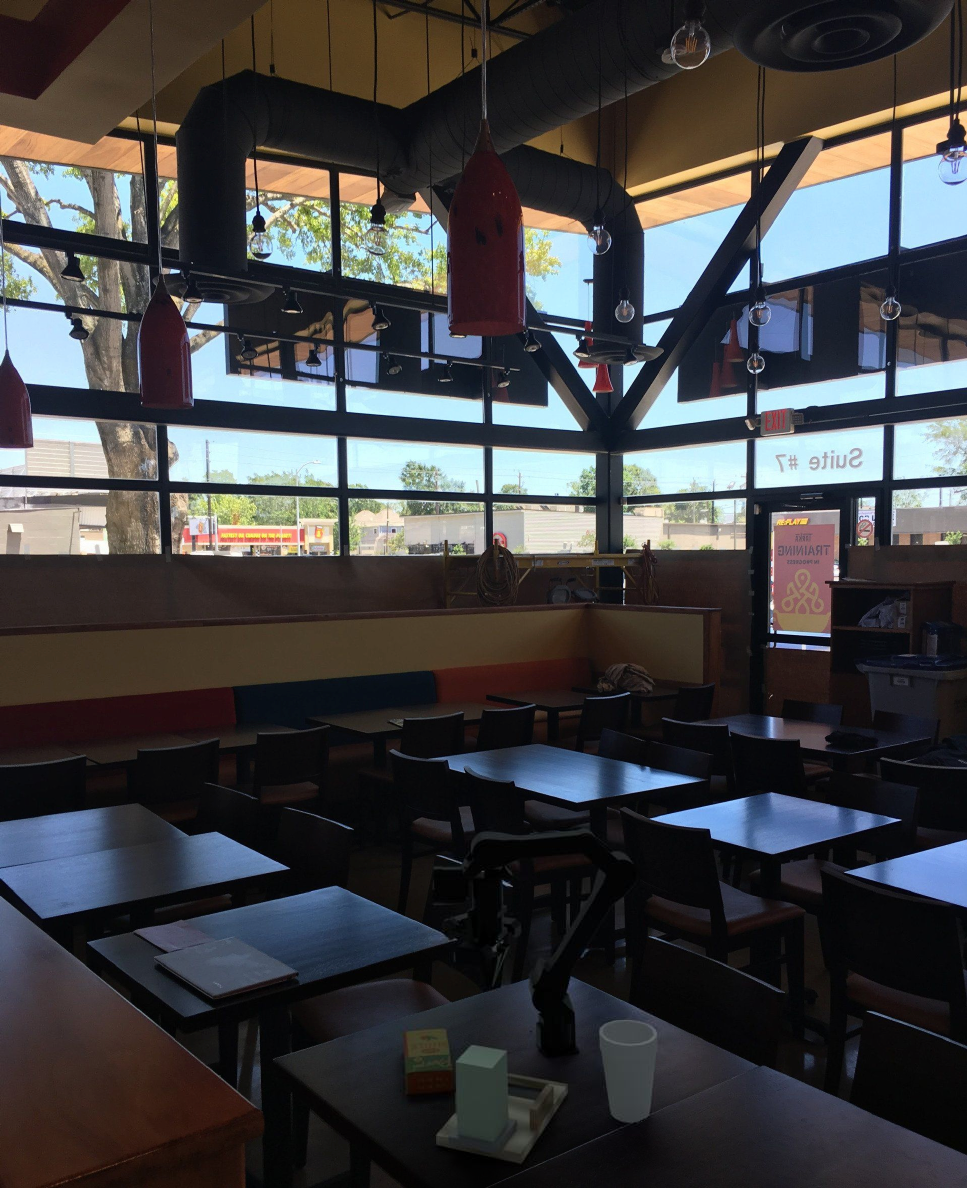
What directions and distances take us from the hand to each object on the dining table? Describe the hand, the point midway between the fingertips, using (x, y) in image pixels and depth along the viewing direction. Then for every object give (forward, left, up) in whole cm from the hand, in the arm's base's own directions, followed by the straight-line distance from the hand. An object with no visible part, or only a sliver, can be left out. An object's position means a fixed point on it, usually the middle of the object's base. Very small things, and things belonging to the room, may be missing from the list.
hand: (489, 986), depth 179 cm
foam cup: (-15, +28, -12) cm, 34 cm away
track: (+5, +23, -12) cm, 26 cm away
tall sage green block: (+10, +30, -10) cm, 33 cm away
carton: (+13, +3, -13) cm, 18 cm away
